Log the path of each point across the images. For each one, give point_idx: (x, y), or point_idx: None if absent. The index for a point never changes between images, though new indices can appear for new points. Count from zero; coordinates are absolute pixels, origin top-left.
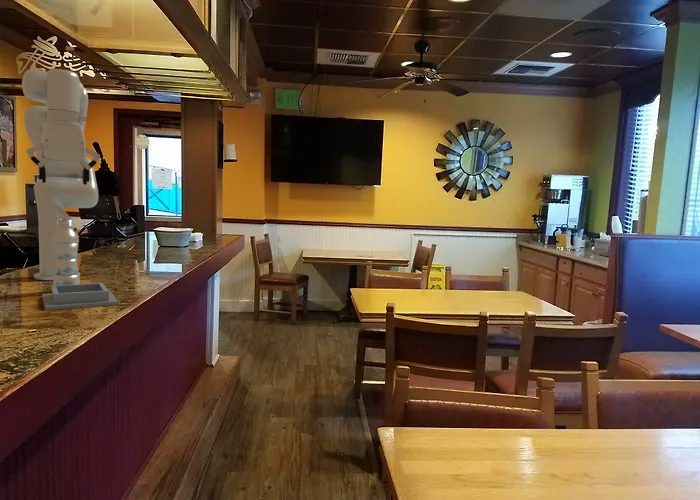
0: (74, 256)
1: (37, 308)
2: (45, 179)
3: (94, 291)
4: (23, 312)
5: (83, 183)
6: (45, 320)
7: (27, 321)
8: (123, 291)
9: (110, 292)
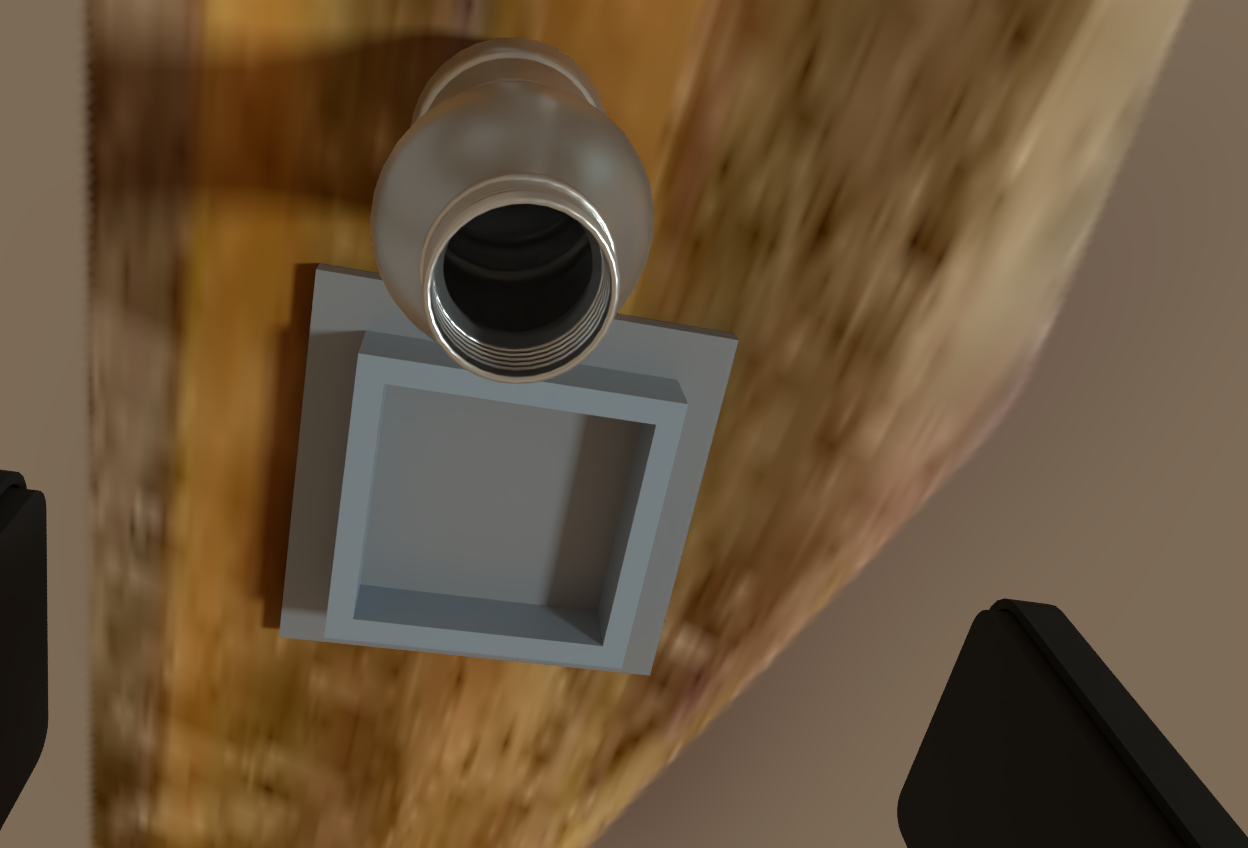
0: (568, 263)
1: (252, 563)
2: (7, 802)
3: (547, 650)
4: (176, 619)
5: (924, 753)
6: (258, 803)
7: (183, 789)
8: (828, 328)
9: (710, 423)
